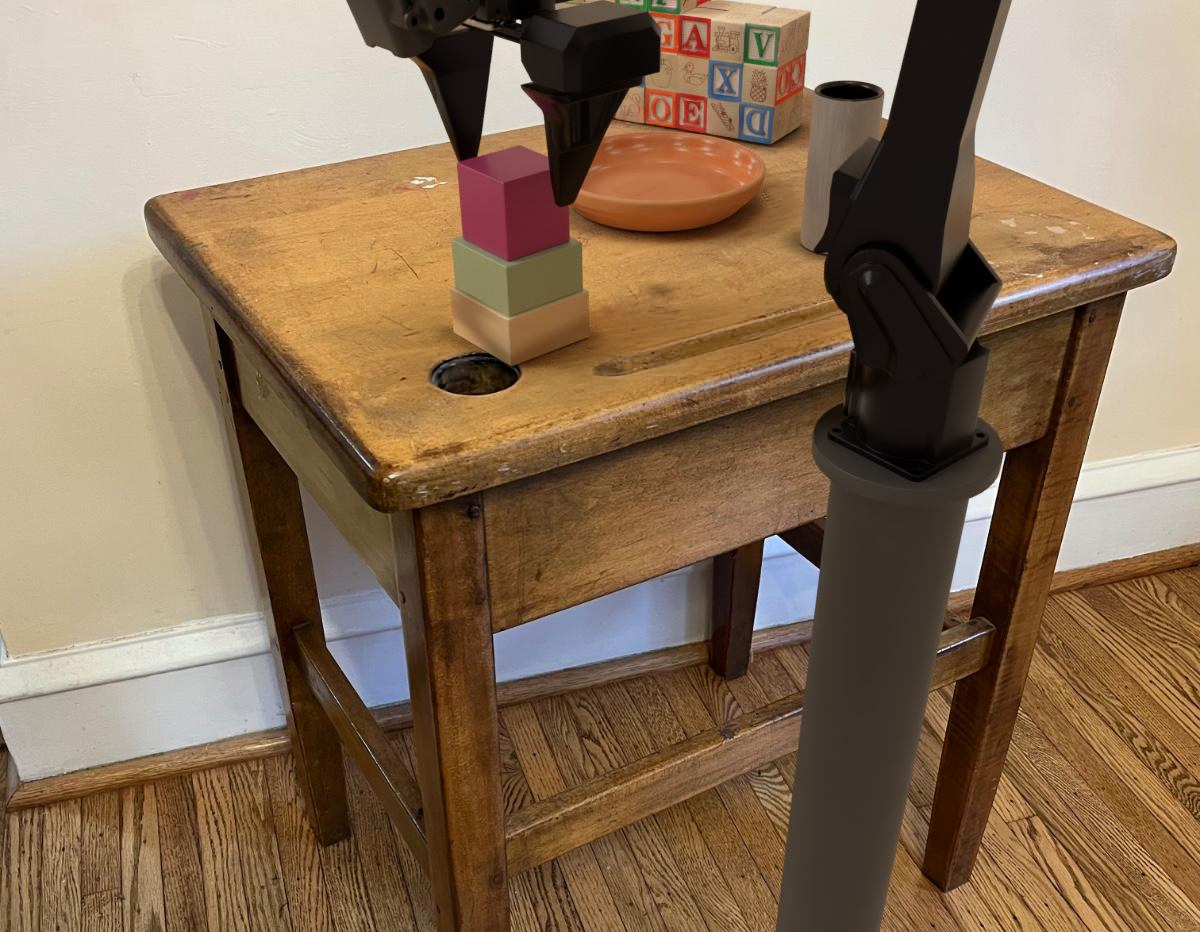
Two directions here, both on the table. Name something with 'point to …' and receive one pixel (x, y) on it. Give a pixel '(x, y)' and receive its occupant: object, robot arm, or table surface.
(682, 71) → the stack of blocks
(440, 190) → the table surface
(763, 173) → the saucer
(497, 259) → the sage middle block
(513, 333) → the beech base block
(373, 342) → the table surface
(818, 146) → the grey hollow cylinder
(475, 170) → the mulberry block
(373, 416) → the table surface
